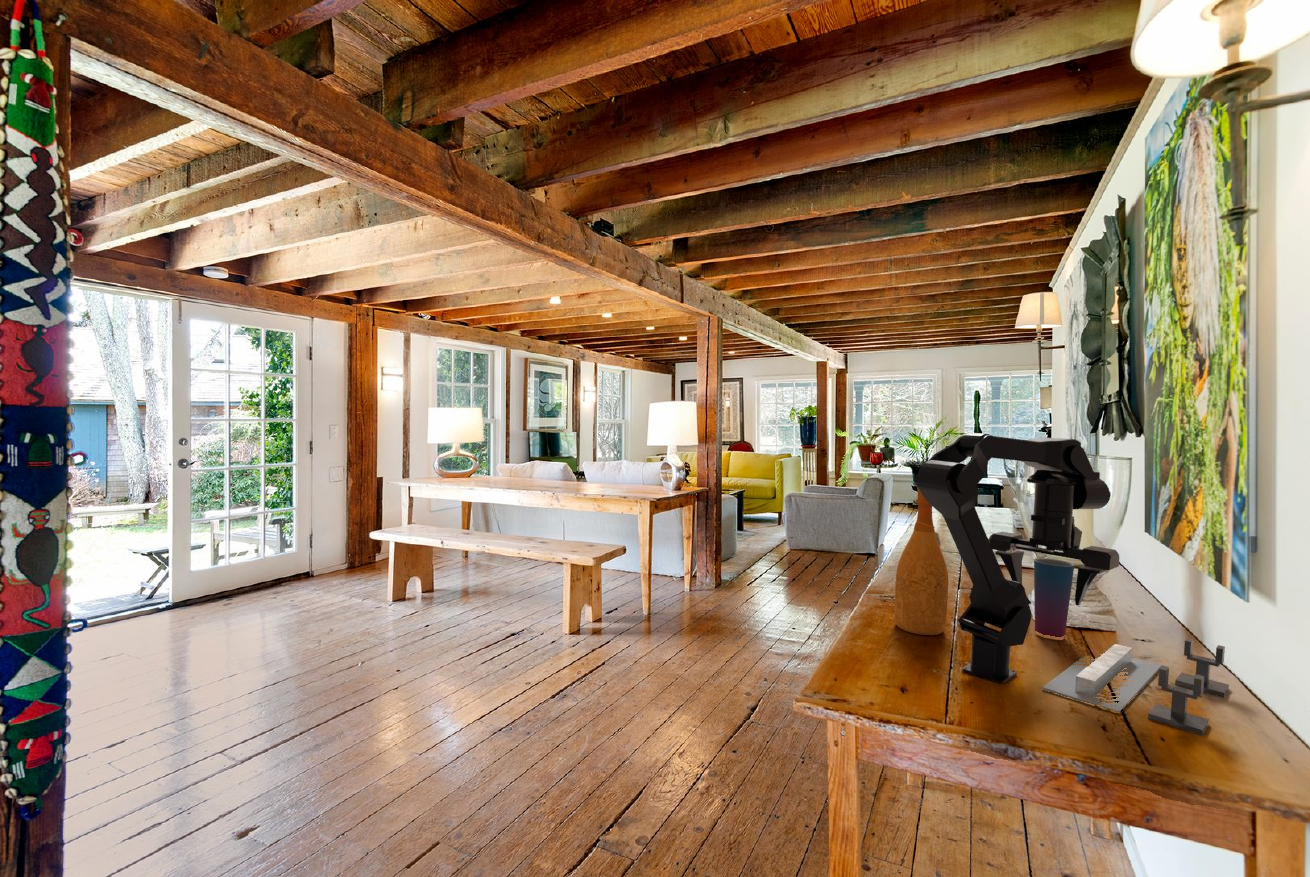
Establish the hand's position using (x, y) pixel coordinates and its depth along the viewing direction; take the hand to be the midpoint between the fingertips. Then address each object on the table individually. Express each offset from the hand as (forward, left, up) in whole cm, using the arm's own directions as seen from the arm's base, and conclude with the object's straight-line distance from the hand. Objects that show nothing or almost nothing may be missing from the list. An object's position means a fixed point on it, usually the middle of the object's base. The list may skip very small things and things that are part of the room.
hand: (1047, 598), depth 108 cm
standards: (+2, -20, -12) cm, 23 cm away
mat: (+2, -9, -12) cm, 15 cm away
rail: (+2, -9, -11) cm, 14 cm away
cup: (+18, +4, -12) cm, 22 cm away
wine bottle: (0, +22, -12) cm, 26 cm away
